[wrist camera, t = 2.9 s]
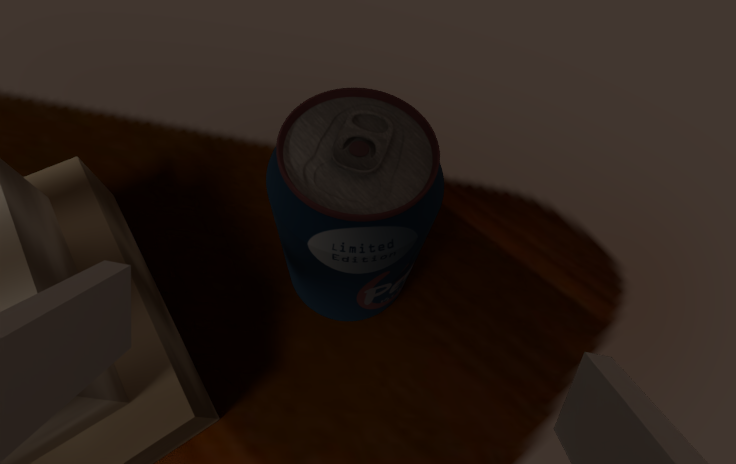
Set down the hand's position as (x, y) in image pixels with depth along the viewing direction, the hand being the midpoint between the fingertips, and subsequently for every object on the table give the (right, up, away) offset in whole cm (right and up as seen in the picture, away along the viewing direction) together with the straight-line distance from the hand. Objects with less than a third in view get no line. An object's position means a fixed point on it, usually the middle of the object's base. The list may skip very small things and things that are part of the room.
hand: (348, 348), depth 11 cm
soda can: (-1, +1, +13) cm, 13 cm away
